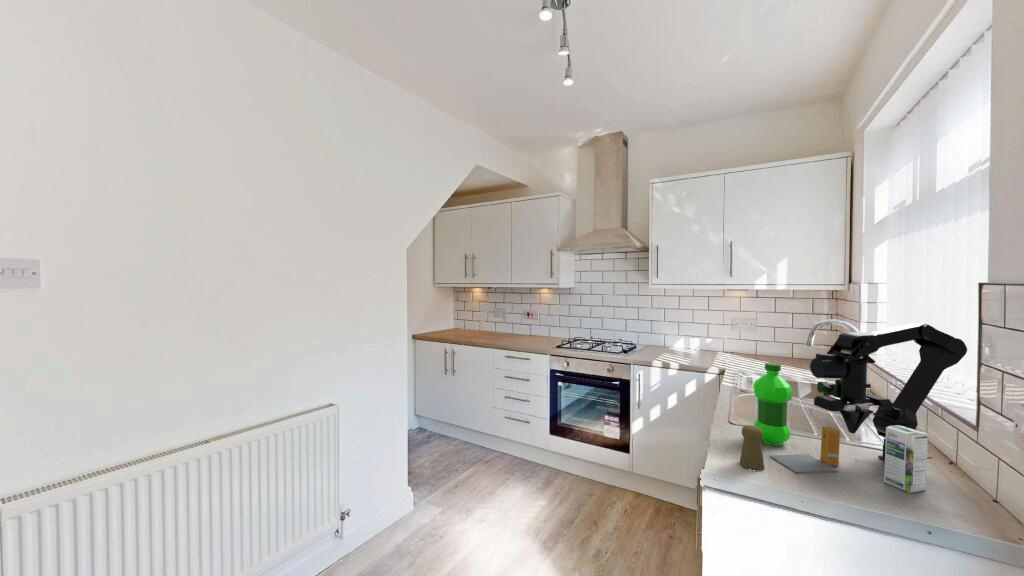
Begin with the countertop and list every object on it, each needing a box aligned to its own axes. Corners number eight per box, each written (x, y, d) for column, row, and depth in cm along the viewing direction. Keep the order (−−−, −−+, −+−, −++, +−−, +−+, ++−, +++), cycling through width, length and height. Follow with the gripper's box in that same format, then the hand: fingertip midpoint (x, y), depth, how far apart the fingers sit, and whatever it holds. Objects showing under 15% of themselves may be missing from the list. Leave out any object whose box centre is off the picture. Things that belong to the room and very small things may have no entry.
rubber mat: (808, 455, 118) (808, 454, 118) (838, 472, 108) (838, 470, 108) (769, 456, 117) (769, 455, 117) (796, 473, 107) (796, 471, 107)
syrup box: (882, 482, 103) (884, 426, 102) (900, 479, 104) (901, 424, 104) (909, 493, 97) (911, 434, 97) (927, 490, 99) (929, 432, 98)
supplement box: (840, 466, 111) (841, 430, 111) (826, 465, 112) (827, 430, 112) (833, 461, 114) (833, 426, 114) (819, 459, 115) (820, 425, 115)
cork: (766, 465, 112) (767, 426, 111) (761, 473, 107) (762, 432, 107) (742, 458, 116) (742, 421, 116) (736, 466, 111) (737, 427, 111)
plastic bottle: (786, 438, 130) (788, 362, 130) (793, 451, 121) (795, 369, 120) (751, 433, 135) (752, 359, 134) (755, 445, 125) (756, 366, 124)
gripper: (857, 370, 122) (856, 421, 122) (799, 371, 120) (798, 423, 121) (895, 380, 110) (893, 436, 111) (831, 381, 109) (830, 438, 110)
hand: (851, 432), depth 113 cm, fingers closed
